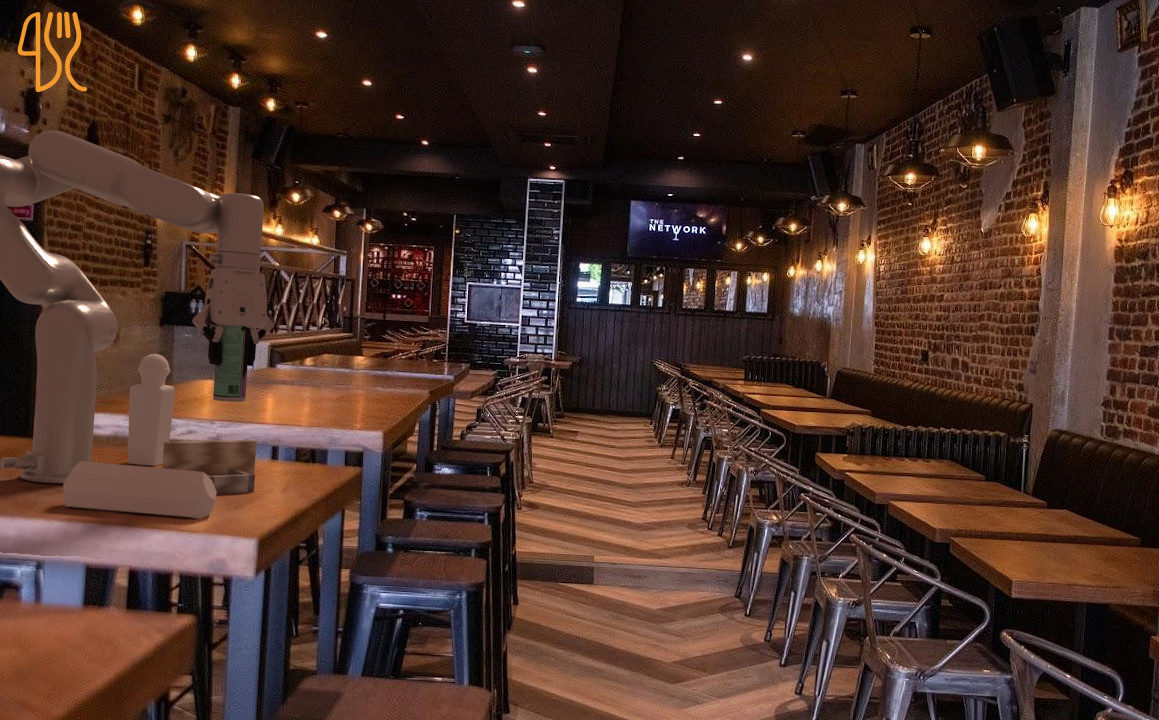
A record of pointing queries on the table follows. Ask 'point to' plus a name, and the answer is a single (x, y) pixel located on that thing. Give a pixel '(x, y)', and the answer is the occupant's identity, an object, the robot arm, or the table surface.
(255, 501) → the table surface
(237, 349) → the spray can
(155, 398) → the beige square bottle
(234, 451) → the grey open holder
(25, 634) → the table surface
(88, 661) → the table surface
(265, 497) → the table surface
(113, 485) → the chamfered beige bar
